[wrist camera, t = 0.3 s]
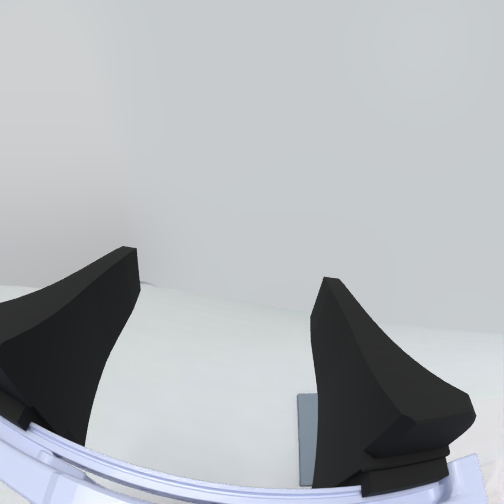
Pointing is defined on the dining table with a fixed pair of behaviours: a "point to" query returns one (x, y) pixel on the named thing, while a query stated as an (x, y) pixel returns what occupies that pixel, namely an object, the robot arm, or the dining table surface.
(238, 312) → the dining table surface
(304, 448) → the slate mat
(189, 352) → the dining table surface
